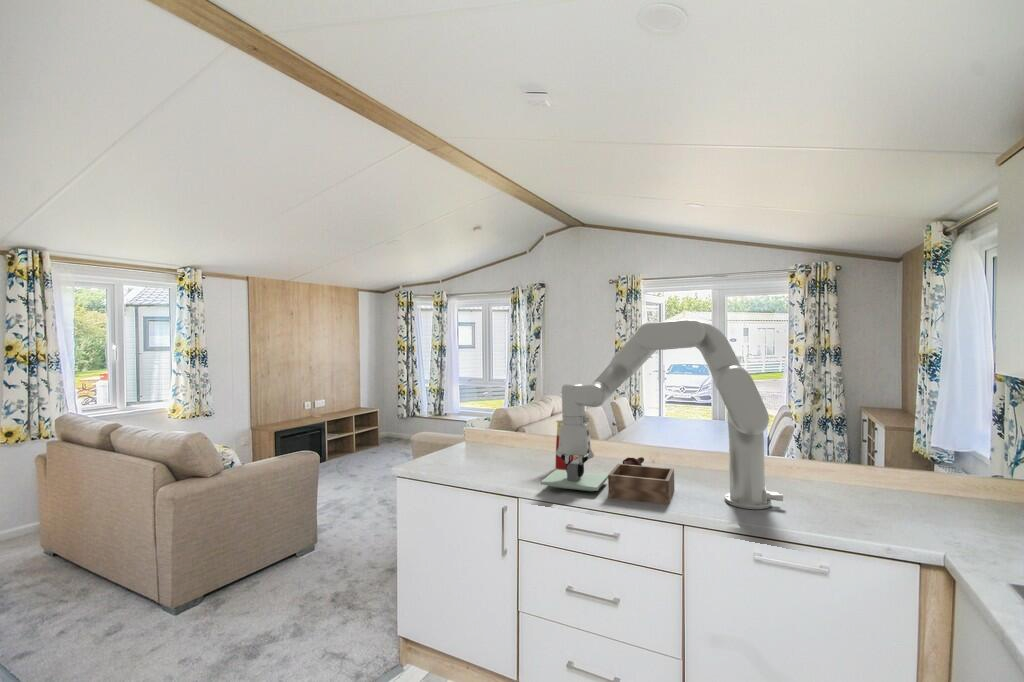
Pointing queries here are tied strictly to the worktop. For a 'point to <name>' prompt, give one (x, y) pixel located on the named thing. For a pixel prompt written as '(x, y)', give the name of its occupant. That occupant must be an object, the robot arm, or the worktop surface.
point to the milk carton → (559, 461)
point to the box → (641, 483)
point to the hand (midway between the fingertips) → (575, 474)
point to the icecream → (633, 461)
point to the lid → (575, 479)
